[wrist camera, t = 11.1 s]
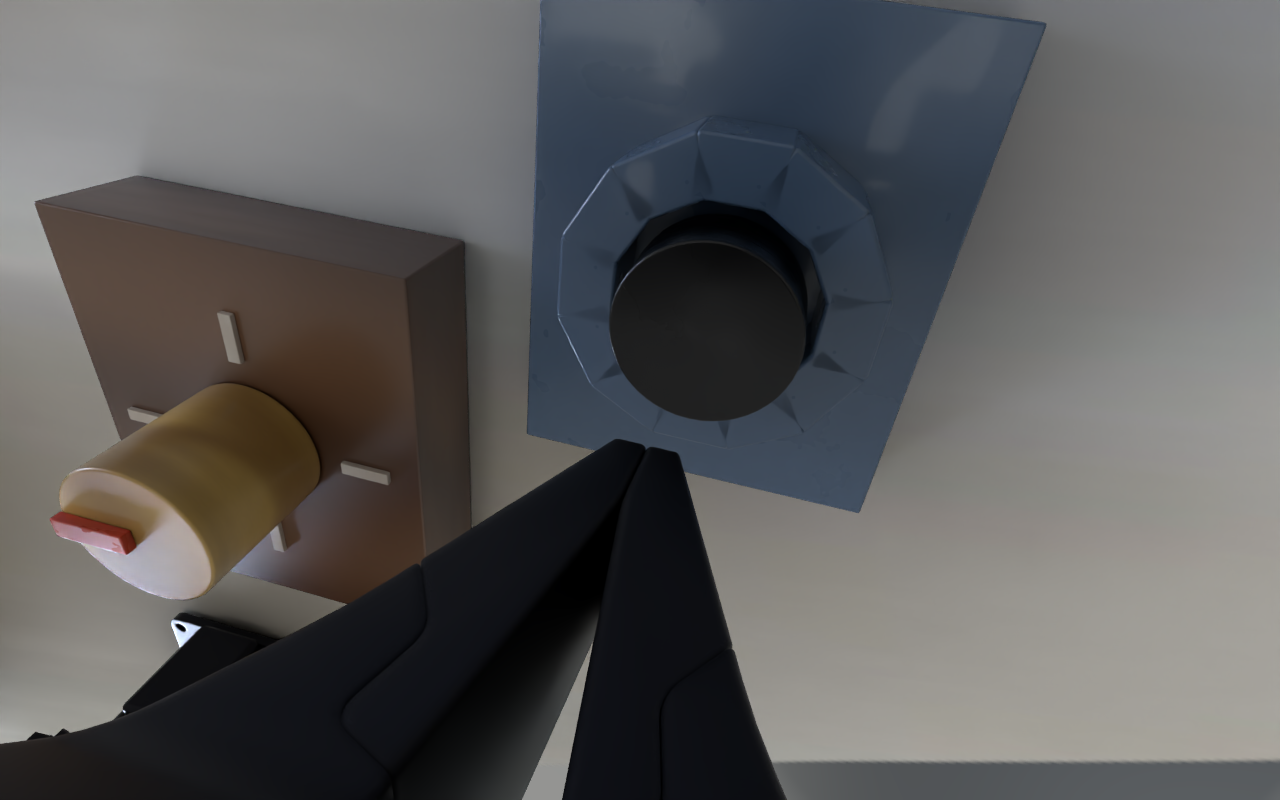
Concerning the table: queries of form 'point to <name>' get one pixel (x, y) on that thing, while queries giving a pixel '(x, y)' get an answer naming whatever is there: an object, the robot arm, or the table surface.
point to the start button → (711, 318)
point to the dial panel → (287, 356)
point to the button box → (762, 204)
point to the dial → (190, 491)
